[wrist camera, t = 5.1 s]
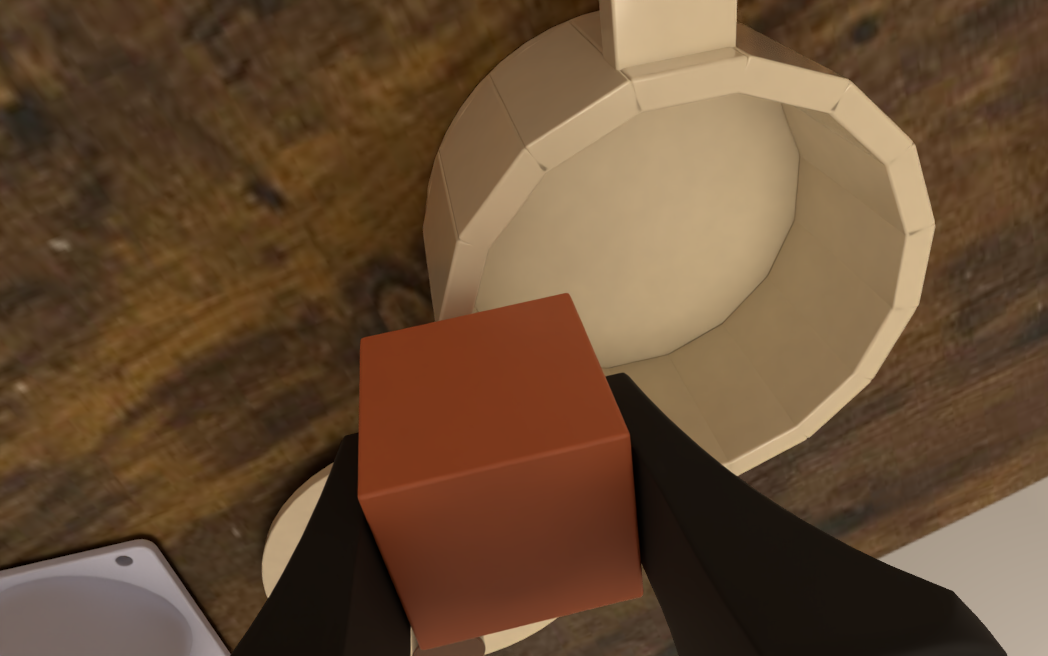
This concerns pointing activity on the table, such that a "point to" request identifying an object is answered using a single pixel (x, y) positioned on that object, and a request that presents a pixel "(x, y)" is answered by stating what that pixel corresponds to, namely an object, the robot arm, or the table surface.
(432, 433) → the block
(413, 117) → the table surface
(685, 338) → the pot
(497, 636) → the lid
